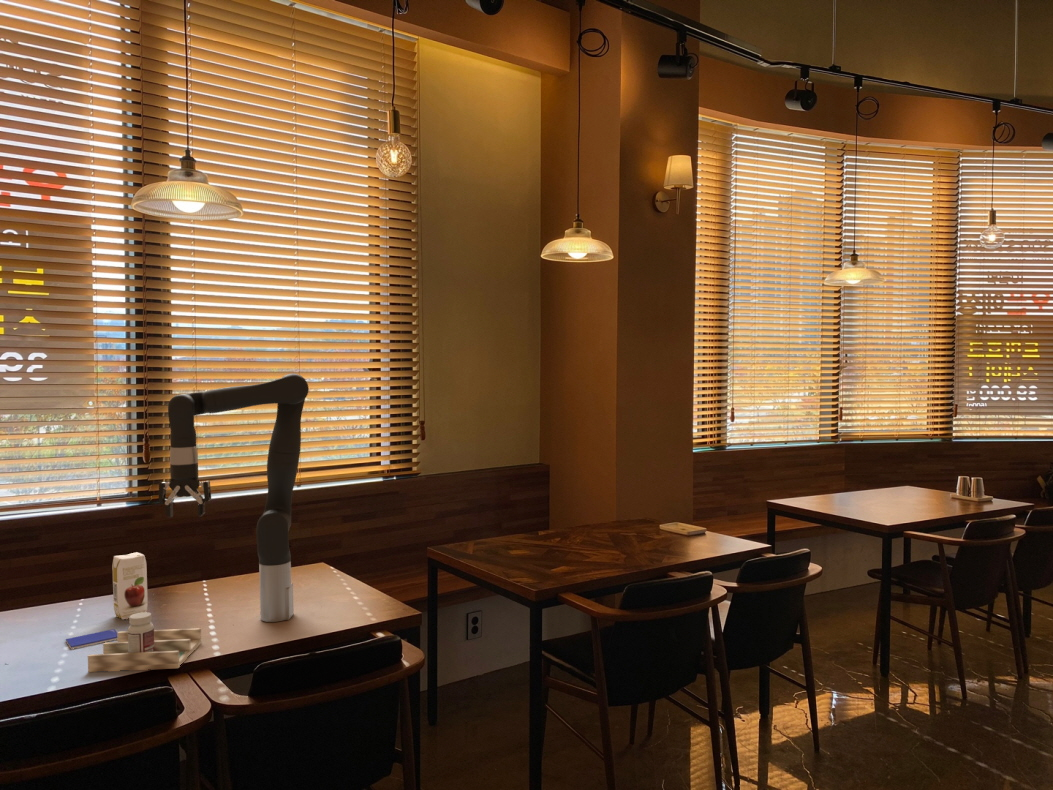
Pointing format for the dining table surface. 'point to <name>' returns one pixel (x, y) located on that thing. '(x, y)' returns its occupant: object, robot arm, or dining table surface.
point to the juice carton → (129, 584)
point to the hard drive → (92, 638)
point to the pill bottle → (141, 633)
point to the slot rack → (167, 655)
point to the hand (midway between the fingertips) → (185, 516)
